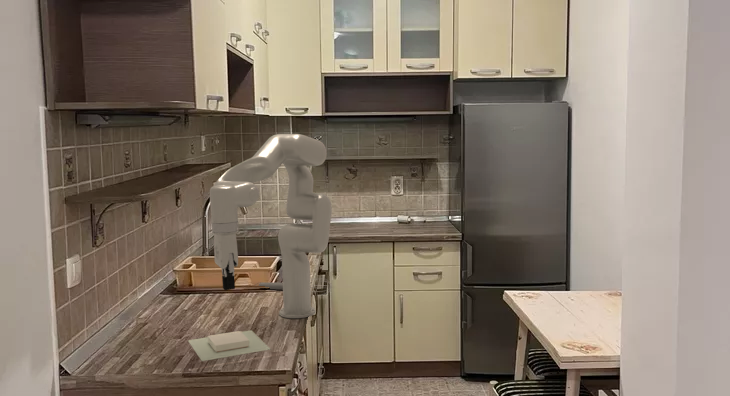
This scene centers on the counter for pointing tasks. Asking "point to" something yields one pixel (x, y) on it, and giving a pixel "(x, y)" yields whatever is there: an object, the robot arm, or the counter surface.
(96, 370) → the counter surface
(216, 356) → the mat
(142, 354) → the counter surface
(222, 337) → the tile
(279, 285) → the kitchen whisk
